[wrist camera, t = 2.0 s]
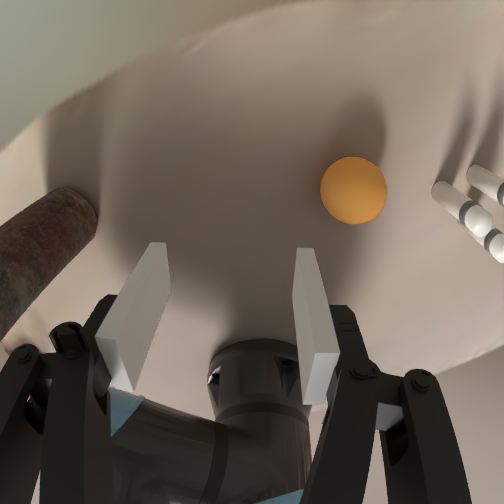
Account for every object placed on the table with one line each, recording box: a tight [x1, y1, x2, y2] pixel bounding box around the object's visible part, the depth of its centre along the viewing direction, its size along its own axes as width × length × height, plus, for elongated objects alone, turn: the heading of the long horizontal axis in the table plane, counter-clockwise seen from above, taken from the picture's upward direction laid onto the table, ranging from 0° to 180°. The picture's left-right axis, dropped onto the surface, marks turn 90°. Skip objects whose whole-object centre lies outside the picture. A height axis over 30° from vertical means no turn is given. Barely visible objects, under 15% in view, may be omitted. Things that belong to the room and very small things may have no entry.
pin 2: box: [457, 219, 504, 263], centre depth 27 cm, size 2×2×8 cm
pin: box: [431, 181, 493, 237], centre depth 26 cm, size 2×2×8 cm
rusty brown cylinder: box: [0, 187, 97, 341], centre depth 24 cm, size 8×7×20 cm
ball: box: [320, 157, 387, 224], centre depth 27 cm, size 6×6×6 cm
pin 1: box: [466, 164, 504, 207], centre depth 25 cm, size 2×2×8 cm
